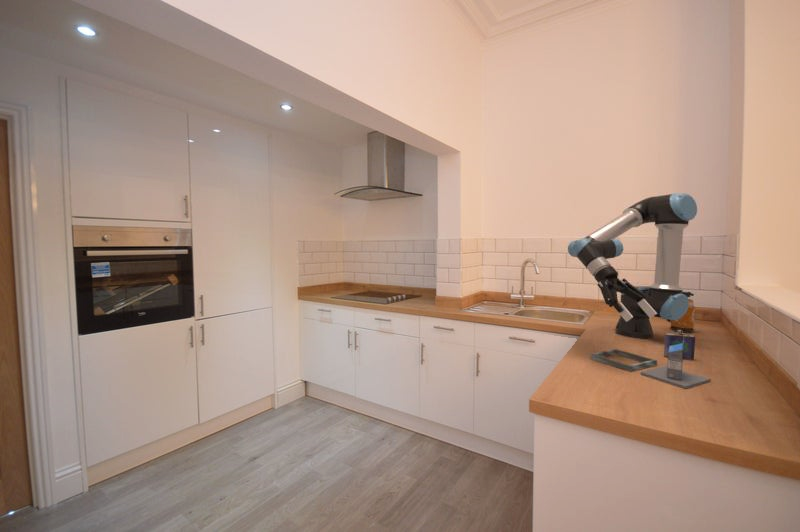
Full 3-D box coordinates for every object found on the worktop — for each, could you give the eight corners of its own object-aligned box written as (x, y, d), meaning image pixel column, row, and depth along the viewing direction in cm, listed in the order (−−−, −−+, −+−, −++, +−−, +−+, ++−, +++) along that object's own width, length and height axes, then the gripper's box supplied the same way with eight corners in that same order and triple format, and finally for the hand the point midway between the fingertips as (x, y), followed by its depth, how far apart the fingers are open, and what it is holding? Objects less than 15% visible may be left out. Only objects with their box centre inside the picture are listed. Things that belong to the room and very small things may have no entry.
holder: (615, 353, 139) (616, 348, 139) (656, 365, 126) (657, 360, 126) (590, 358, 133) (590, 353, 133) (630, 371, 120) (630, 366, 119)
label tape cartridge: (667, 369, 119) (669, 333, 118) (682, 372, 116) (684, 335, 116) (666, 377, 112) (668, 339, 111) (682, 380, 110) (684, 341, 109)
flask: (664, 357, 135) (666, 329, 134) (662, 355, 137) (664, 328, 137) (695, 360, 131) (696, 332, 130) (692, 358, 134) (694, 330, 133)
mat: (665, 368, 123) (665, 365, 123) (710, 381, 111) (710, 378, 111) (640, 374, 117) (640, 371, 117) (685, 388, 105) (685, 386, 105)
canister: (694, 334, 169) (696, 292, 168) (665, 330, 176) (667, 291, 175) (693, 330, 176) (695, 290, 175) (665, 327, 183) (667, 289, 182)
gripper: (616, 276, 143) (654, 320, 131) (573, 279, 133) (611, 327, 120) (630, 264, 138) (671, 308, 126) (587, 266, 128) (627, 314, 115)
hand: (642, 317), depth 123 cm, fingers open, 13 cm apart
